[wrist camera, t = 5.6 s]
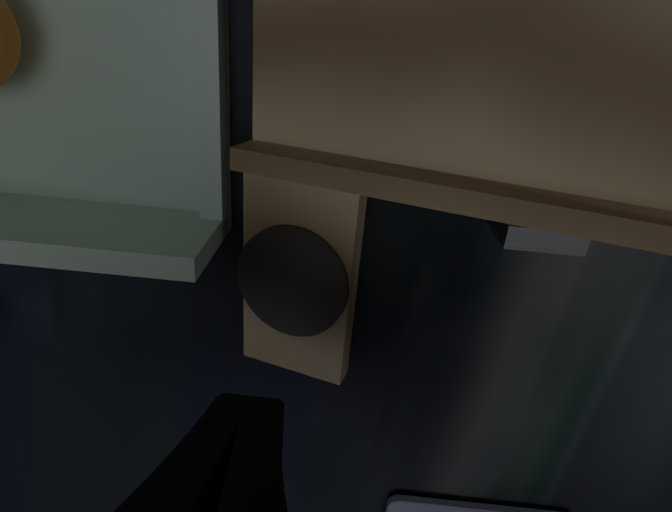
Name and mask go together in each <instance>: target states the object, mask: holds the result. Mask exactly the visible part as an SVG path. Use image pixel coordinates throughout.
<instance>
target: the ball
mask: <svg viewBox="0 0 672 512" xmlns="http://www.w3.org/2000/svg"><path fill="white" fill-rule="evenodd" d="M20 54H21V37H20V32H19V28H18V25H17V22H16V19H15V17H14V15H13V13H12V11H11V10H10V8H9V6H8V5H7V3H6V2H5V1H4V0H0V86H2V85H3V84H4V83H5V82H6V81H7V80H8V79H9V78H10V77H11V76H12V74H13V72H14V71H15V69H16V67H17V65H18V62H19V59H20Z"/></svg>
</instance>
